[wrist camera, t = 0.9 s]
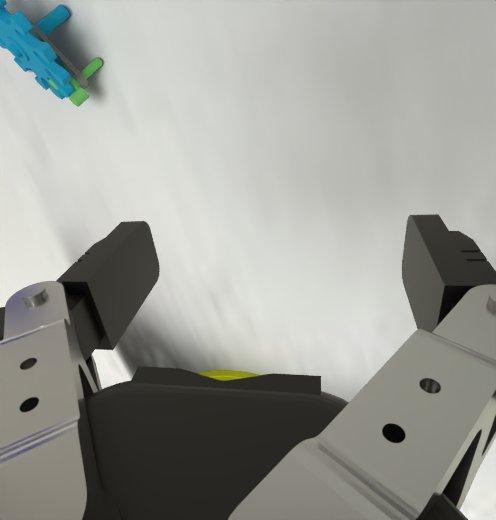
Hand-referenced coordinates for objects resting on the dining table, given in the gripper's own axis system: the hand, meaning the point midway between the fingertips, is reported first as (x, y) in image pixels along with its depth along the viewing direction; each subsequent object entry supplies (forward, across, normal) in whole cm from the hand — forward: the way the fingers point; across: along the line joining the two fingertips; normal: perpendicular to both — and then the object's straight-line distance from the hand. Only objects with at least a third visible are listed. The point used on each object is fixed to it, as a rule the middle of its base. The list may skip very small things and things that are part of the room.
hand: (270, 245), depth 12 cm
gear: (+27, +23, -6) cm, 36 cm away
